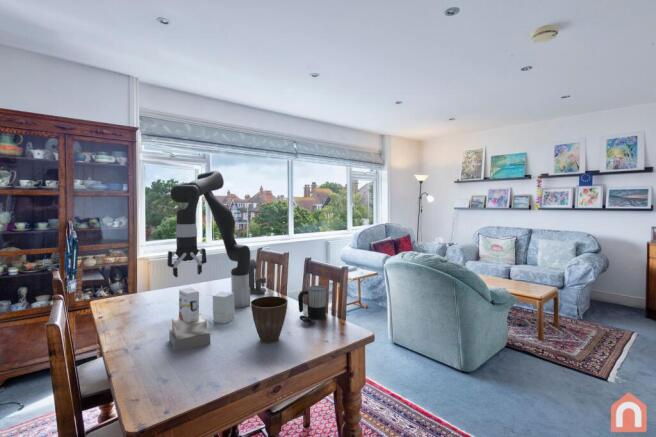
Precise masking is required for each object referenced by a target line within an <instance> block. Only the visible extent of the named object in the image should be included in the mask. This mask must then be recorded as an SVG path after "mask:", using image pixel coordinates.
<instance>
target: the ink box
mask: <svg viewBox="0 0 656 437" xmlns="http://www.w3.org/2000/svg"><path fill="white" fill-rule="evenodd" d="M178 295H179V296H178V317H179V318H180V319H182V320H184V321H185V322H187V323H189V322H193V321H197V320H199V313H200V292H199V290H197V289H194V288H192V287H187V288H181V289H179V290H178Z"/></svg>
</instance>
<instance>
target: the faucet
mask: <svg viewBox="0 0 656 437" xmlns="http://www.w3.org/2000/svg"><path fill="white" fill-rule="evenodd" d="M257 266H258V264H257V262H256V260H255V259H252V258H250V269H249V288H250V295H265V293H266V292H267V289H266V288H265V287H262V284H266V283H267V277H258V278H257V279H255V270H257ZM255 280H256V281H255Z"/></svg>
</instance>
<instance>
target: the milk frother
mask: <svg viewBox="0 0 656 437" xmlns="http://www.w3.org/2000/svg"><path fill="white" fill-rule="evenodd" d="M327 289H328V288H327V287H326V286H325V285H310V286H308V287H307V289H302V290H301V291H299V293H298V302H297V303H298V312H299V313H302V312H304V297H303V296H304V295H307V308H306V309H307V312H306V313H307V316H306V315H303V314H302V315H299V319H300V321H302V322H303V323H305V324H308V325H309V326H310V325H311V326H312V325H315V324H316V321H322V320H325V319H326V318H327V313H326V309H327V308H326V307H327V305H326V304H327V303H326V302H327V301H326V298H327V295H326V294H327V293H326V292H327Z"/></svg>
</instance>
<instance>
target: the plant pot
mask: <svg viewBox="0 0 656 437" xmlns="http://www.w3.org/2000/svg"><path fill="white" fill-rule="evenodd" d="M288 303H289V302H288V299H287V298H285V297H282V296H277V295H276V296H275V295H274V296H272V295H271V296H261V297H257V298H254V299H252V300H250V307H251V315H252V318H253V323H254V327H255V330H256V332H257V335H258V338H259V341H260V342H261V343H265V344H274V343H276V342H278V341H279V339H280V337H281V336H280V335H281V333H282V330H283V327H284V324H285V319H286V315H287V310H288Z"/></svg>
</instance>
